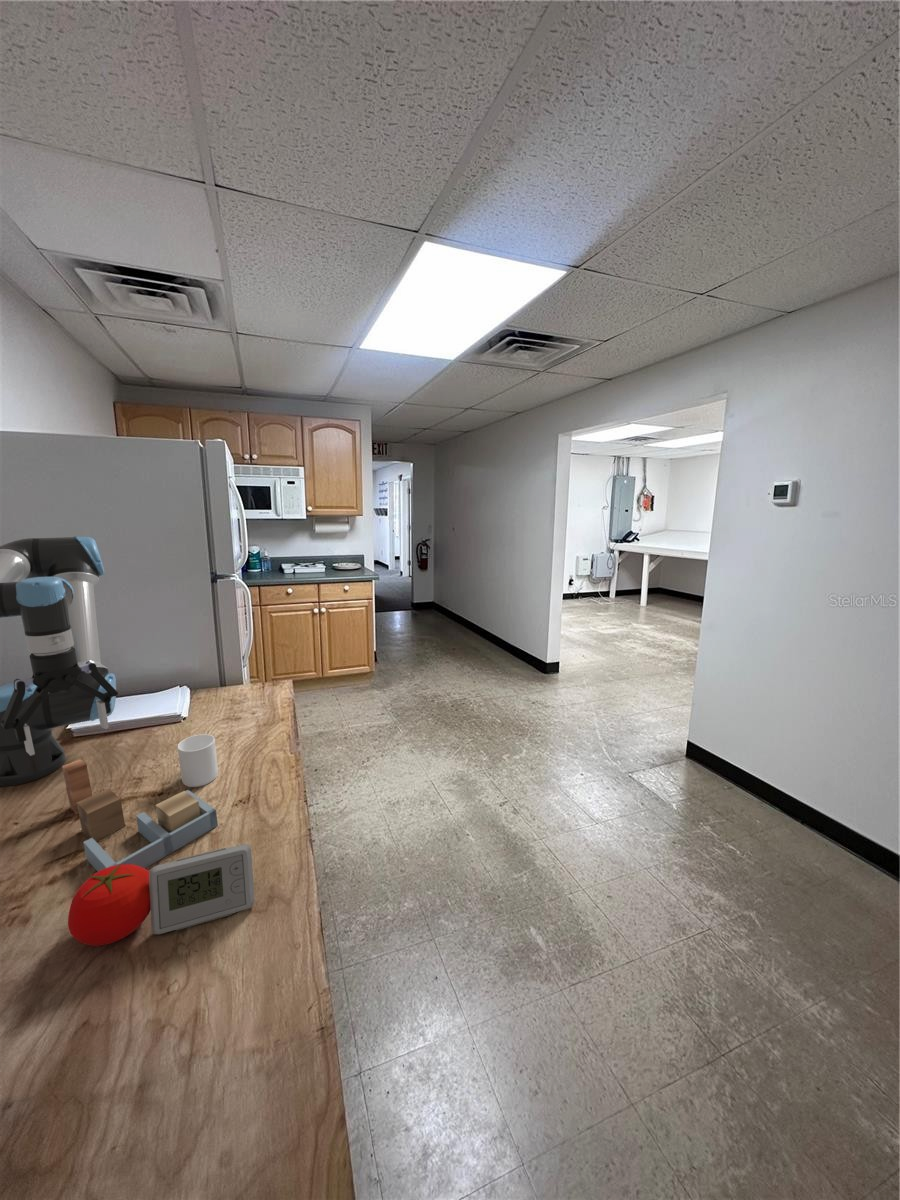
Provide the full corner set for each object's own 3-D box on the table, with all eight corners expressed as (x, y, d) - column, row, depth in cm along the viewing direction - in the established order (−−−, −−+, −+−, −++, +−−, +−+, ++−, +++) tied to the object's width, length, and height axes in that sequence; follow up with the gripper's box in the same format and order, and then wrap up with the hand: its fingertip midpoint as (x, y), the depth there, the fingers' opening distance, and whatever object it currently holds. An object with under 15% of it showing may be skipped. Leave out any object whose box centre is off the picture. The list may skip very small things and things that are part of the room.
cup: (182, 791, 115) (177, 754, 113) (181, 766, 125) (177, 732, 123) (219, 781, 119) (215, 746, 117) (216, 758, 129) (212, 725, 127)
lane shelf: (86, 858, 94) (83, 842, 93) (189, 804, 111) (187, 789, 110) (111, 887, 88) (108, 869, 87) (217, 825, 104) (216, 809, 103)
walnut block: (63, 811, 108) (55, 768, 105) (94, 797, 113) (86, 756, 110) (93, 842, 99) (84, 796, 96) (125, 826, 103) (117, 782, 101)
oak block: (159, 833, 102) (155, 804, 100) (187, 817, 106) (184, 790, 105) (173, 845, 98) (169, 816, 97) (201, 828, 103) (198, 800, 102)
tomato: (84, 912, 83) (74, 862, 80) (164, 890, 87) (157, 842, 85) (62, 971, 73) (50, 916, 70) (154, 943, 77) (145, 890, 75)
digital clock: (146, 941, 78) (137, 887, 75) (167, 895, 86) (160, 846, 84) (250, 926, 81) (245, 874, 78) (260, 883, 89) (256, 835, 87)
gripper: (-24, 672, 88) (0, 771, 93) (125, 638, 108) (138, 722, 113) (-34, 663, 92) (-11, 759, 97) (111, 632, 112) (124, 713, 117)
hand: (69, 739), depth 105 cm, fingers open, 13 cm apart
